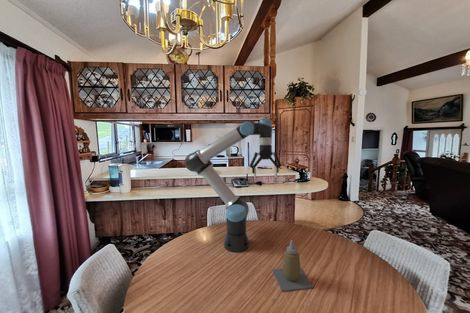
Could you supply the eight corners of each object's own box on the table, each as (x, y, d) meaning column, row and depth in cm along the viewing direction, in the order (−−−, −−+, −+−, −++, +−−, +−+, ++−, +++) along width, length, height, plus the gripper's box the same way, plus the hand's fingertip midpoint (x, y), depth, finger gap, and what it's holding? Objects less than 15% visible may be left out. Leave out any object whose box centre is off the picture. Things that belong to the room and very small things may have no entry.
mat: (282, 291, 90) (282, 290, 90) (272, 270, 104) (272, 269, 104) (313, 288, 92) (313, 286, 92) (299, 267, 106) (299, 266, 106)
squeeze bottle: (300, 273, 101) (301, 237, 99) (300, 285, 93) (301, 246, 91) (283, 270, 103) (284, 235, 101) (281, 281, 96) (281, 243, 94)
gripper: (247, 145, 127) (247, 180, 129) (287, 144, 130) (286, 178, 132) (244, 144, 134) (244, 177, 136) (282, 143, 137) (282, 176, 140)
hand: (265, 178), depth 134 cm, fingers open, 13 cm apart
